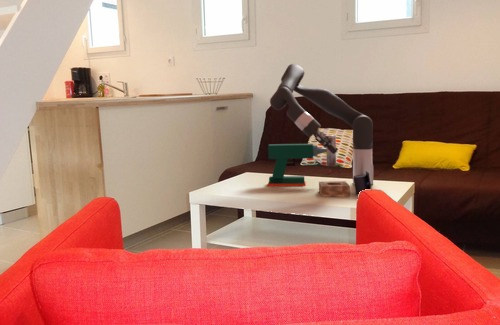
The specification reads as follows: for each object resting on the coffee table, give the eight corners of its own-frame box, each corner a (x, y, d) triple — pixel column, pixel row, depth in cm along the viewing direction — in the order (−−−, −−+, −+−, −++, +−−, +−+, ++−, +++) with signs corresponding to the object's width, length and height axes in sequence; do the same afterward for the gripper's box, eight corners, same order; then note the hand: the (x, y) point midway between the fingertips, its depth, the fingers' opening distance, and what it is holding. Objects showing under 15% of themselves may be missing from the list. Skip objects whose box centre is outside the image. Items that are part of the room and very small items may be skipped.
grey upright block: (327, 164, 206) (327, 135, 204) (336, 164, 205) (336, 135, 203) (325, 166, 199) (325, 136, 198) (335, 166, 198) (334, 136, 196)
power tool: (332, 183, 232) (332, 143, 229) (333, 185, 225) (333, 144, 222) (268, 183, 235) (268, 144, 232) (267, 186, 228) (267, 145, 225)
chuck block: (345, 190, 211) (345, 181, 210) (349, 196, 199) (349, 186, 198) (318, 191, 212) (318, 181, 211) (321, 196, 200) (321, 186, 199)
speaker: (374, 193, 203) (371, 170, 202) (372, 196, 198) (369, 172, 197) (356, 193, 206) (354, 171, 205) (354, 197, 201) (351, 173, 200)
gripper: (304, 129, 210) (331, 155, 208) (298, 131, 197) (327, 160, 195) (316, 117, 208) (343, 144, 206) (310, 118, 195) (340, 147, 193)
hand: (335, 151), depth 201 cm, fingers closed on grey upright block, 4 cm apart
